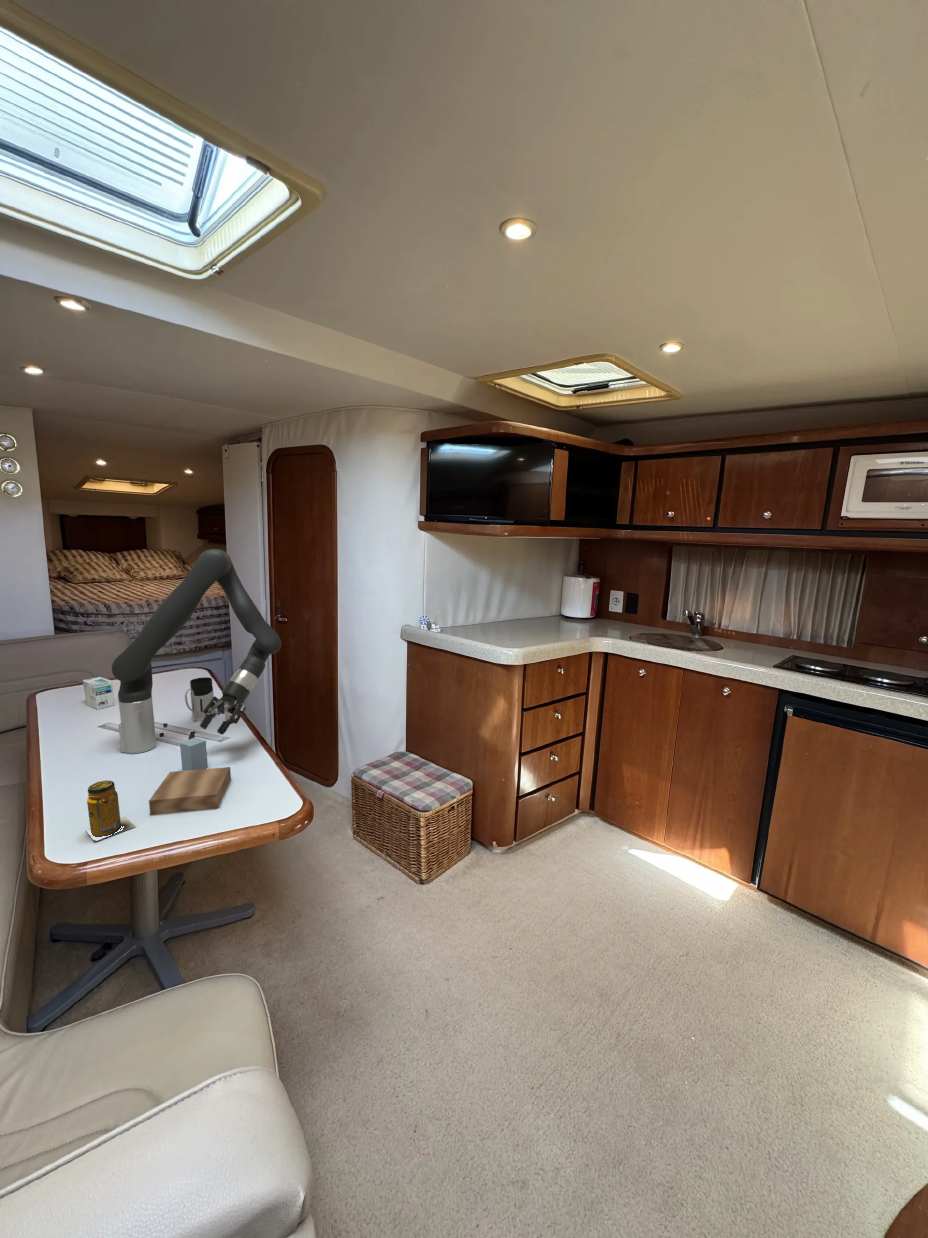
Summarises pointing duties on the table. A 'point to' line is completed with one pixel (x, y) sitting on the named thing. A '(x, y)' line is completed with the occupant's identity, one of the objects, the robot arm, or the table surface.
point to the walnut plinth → (190, 791)
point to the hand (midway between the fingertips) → (210, 730)
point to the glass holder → (200, 697)
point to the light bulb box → (99, 693)
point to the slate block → (193, 754)
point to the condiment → (105, 810)
